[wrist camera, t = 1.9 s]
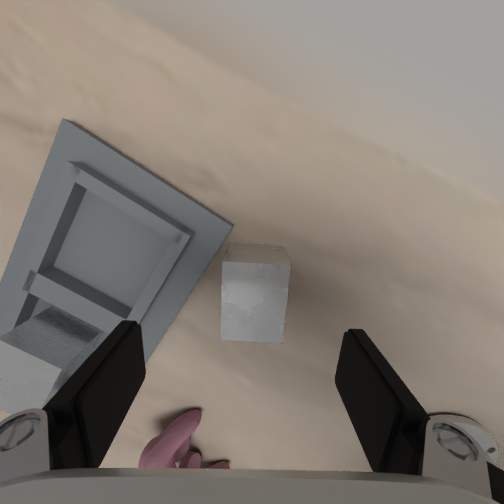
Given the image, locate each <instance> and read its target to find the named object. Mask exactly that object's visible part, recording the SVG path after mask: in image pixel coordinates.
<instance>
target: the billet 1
mask: <svg viewBox="0 0 504 504" xmlns="http://www.w3.org/2000/svg"><path fill="white" fill-rule="evenodd" d="M102 333H103V330H101V329H99V328H97V327H95V326H93V325H91V324H89V323H87V322H85V321H83V320H81V319H79V318H77V317H75V316H74V315H72V314H70V313H68V312H66V311H64V310H62V309H60V308H58V307H56V306H54V305H52V306H51V307H49V308H47V309H46V310H44V311H42V312H41V313H39V314H37V315H36V316H34V317H32V318H31V319H29V320H27V321H26V322H24V323H22V324H21V325H19V326H17V327H16V328H14V329H12V330H11V331H9V332H7V333H6V334H4V335H2V336H1V337H0V409H1V410H3V411H5V412H8V413H10V414H12V415H13V414H15V413H17V412H20V411H23V410H26V409H32V408H38V409H42V408H43V407H44V406H45V405H46V404H47V403H48V402H49V400H50V399H51V398H52V397H53V396H54V395H55V394H56V393H57V391H58V390H59V389H60V388H61V387H62V386H63V385H64V384H65V383H66V381H67V380H68V379H69V378H70V377H71V376H72V375H73V374H74V372H75V371H76V370H77V369H78V368H79V367H80V366H81V365H82V363H83V362H84V361H85V360H86V359H87V358H88V357H89V356H90V355H91V353H92V351H93V349H94V347H95V345H96V344H97V342H98V340H99V338H100V336H101V335H102Z"/></svg>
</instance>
